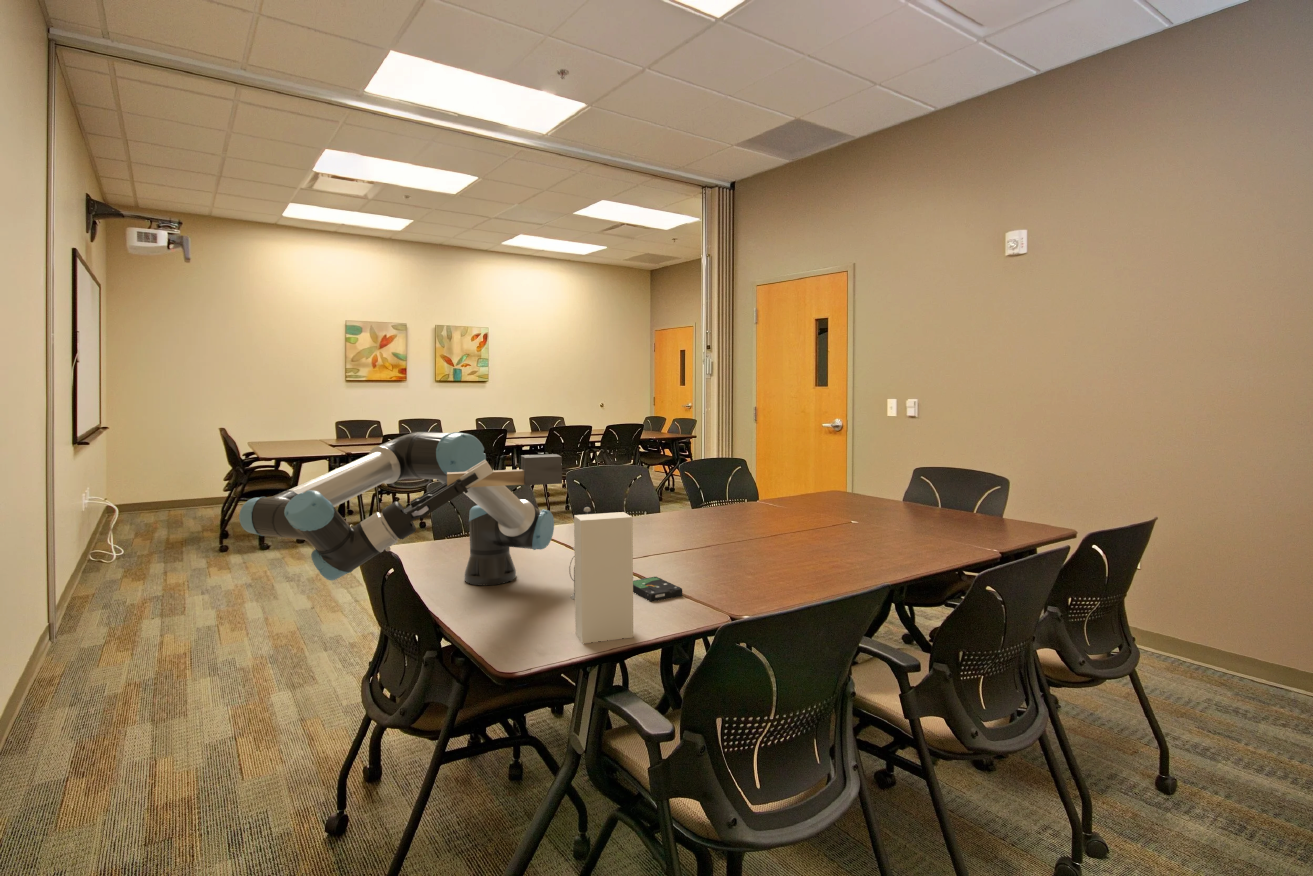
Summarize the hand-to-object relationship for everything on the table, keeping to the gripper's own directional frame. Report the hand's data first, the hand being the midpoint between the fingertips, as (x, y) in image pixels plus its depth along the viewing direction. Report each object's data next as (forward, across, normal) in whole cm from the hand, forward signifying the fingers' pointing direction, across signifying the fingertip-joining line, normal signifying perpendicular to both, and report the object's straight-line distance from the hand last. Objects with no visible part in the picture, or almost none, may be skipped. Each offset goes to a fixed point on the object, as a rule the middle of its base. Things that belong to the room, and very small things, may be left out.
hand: (489, 465), depth 147 cm
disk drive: (+20, -28, -59) cm, 69 cm away
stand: (+2, 0, -48) cm, 48 cm away
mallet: (+1, 0, -5) cm, 5 cm away
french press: (+4, -31, -50) cm, 58 cm away
